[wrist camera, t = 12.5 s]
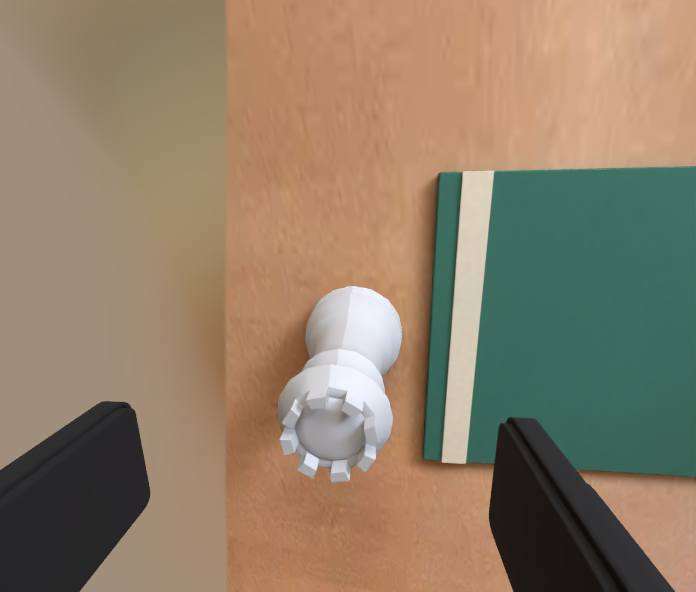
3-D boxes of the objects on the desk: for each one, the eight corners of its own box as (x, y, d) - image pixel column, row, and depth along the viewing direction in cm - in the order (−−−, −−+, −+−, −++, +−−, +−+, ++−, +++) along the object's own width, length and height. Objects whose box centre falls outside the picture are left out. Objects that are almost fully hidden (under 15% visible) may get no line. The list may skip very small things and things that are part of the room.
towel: (422, 454, 17) (423, 461, 17) (438, 173, 14) (440, 172, 13) (762, 475, 16) (774, 484, 15) (882, 162, 12) (903, 161, 12)
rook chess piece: (306, 284, 16) (231, 359, 8) (401, 282, 15) (420, 360, 7) (313, 369, 17) (253, 507, 9) (402, 371, 16) (417, 517, 9)
